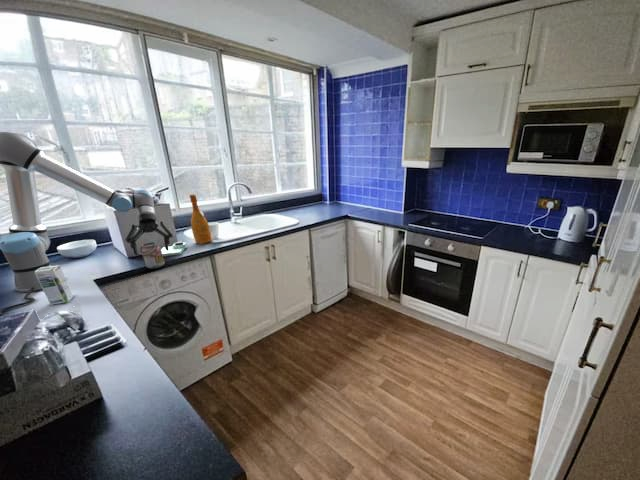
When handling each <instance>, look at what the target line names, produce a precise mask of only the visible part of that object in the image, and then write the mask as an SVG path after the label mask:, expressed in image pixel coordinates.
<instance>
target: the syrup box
mask: <svg viewBox="0 0 640 480" xmlns="http://www.w3.org/2000/svg"><path fill="white" fill-rule="evenodd" d="M34 273H35V275H36V277H37V279H38V281H39V283H40V285H41V287H42V291H43V293H44V294H45V296H46V299H47V301H48V303H49V305H50V306H53V305H59V304H64V303H69V302H70V301H71V300H72V299H73V298H74V293H73V292H72V289H71V286H70V284H69V283H68V280H67V278H66V276H65V274H64V271H63V269H62V267H61V266H60V264H57V265H56V264H55V265H51V266H49V267H41V268H39V269H37V270H36V271H35V272H34Z"/></svg>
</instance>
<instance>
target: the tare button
mask: <svg viewBox="0 0 640 480" xmlns="http://www.w3.org/2000/svg"><path fill="white" fill-rule="evenodd" d="M183 243H184V242H183V241H180V240H179V241H176V242H174V244H175V245H176V246H177V245H182V244H183Z"/></svg>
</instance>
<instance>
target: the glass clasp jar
mask: <svg viewBox="0 0 640 480" xmlns="http://www.w3.org/2000/svg"><path fill="white" fill-rule="evenodd" d="M161 249H162V248H161V247H160V245H159V244H158V242H155V241H151V242H149V241H148V242H145V243H141V246H140V248H139V249H138V254H139V255H141V256H142V257H143V260H144V263H145V266H146V268H148V269H150V270H153V269H158V268H161V267H164V266H165V264H166V262H165V259H164V256H163V255H162V252H161Z"/></svg>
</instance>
